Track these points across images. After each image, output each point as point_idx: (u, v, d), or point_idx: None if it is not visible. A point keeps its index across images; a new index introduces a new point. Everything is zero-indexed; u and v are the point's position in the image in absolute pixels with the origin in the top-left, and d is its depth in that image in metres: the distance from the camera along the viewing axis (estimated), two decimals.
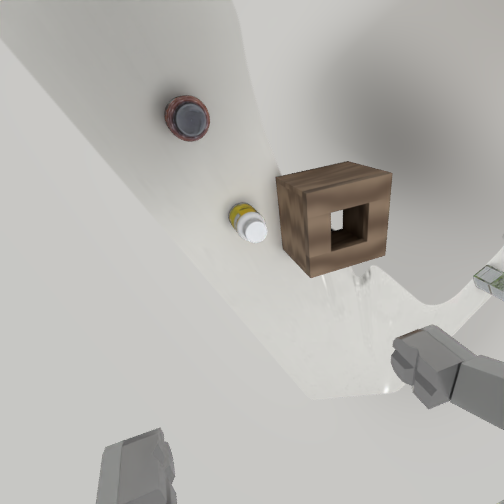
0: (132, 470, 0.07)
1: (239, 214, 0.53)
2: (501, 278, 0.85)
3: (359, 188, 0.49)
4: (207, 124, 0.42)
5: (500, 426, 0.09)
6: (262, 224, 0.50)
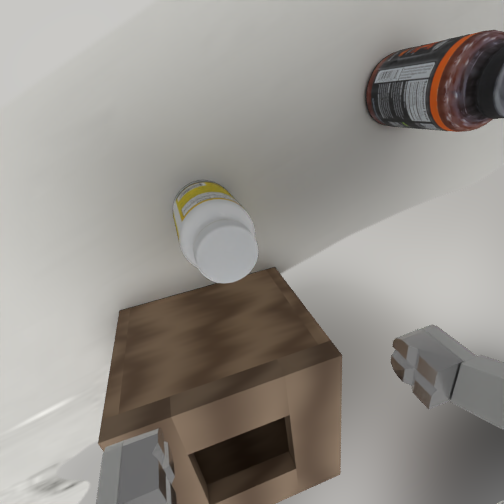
0: (132, 470, 0.07)
1: None
2: None
3: (327, 441, 0.25)
4: (467, 124, 0.20)
5: (500, 426, 0.09)
6: (249, 267, 0.19)
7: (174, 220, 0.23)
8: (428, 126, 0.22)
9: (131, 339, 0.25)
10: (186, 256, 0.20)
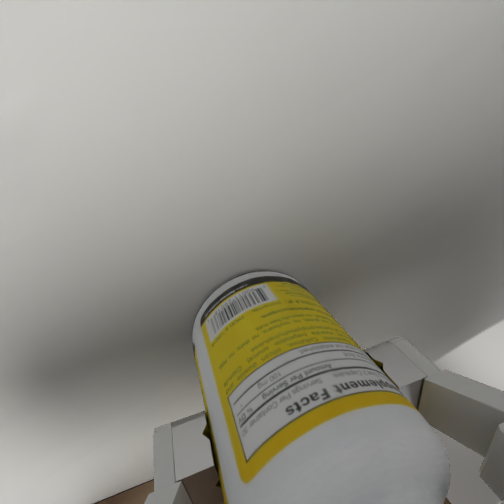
0: (185, 449, 0.08)
1: None
2: None
3: None
4: None
5: (465, 443, 0.08)
6: None
7: (200, 383, 0.10)
8: None
9: None
10: None
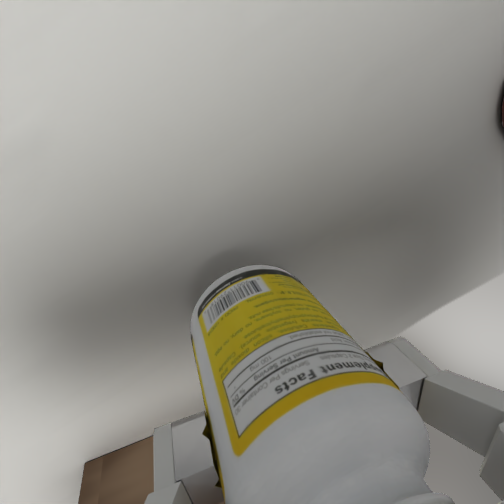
0: (185, 449, 0.08)
1: (367, 355, 0.09)
2: None
3: None
4: None
5: (465, 443, 0.08)
6: None
7: (198, 371, 0.10)
8: None
9: None
10: None
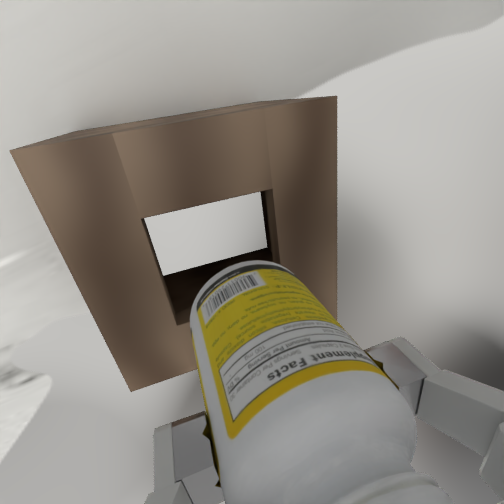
0: (185, 449, 0.08)
1: (359, 346, 0.09)
2: None
3: (320, 256, 0.20)
4: None
5: (465, 443, 0.08)
6: None
7: None
8: None
9: (81, 132, 0.20)
10: None
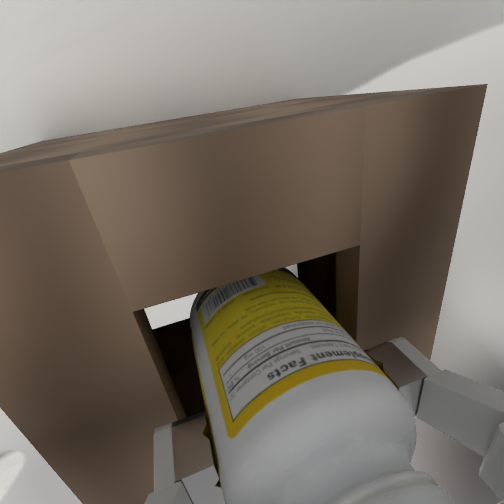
0: (185, 449, 0.08)
1: (358, 345, 0.09)
2: None
3: (413, 335, 0.13)
4: None
5: (465, 443, 0.08)
6: None
7: (196, 362, 0.11)
8: None
9: (42, 145, 0.13)
10: None
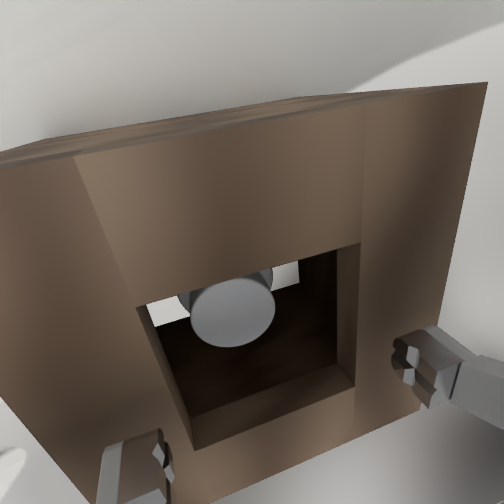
0: (132, 470, 0.07)
1: None
2: None
3: None
4: None
5: (500, 426, 0.09)
6: (262, 328, 0.14)
7: None
8: None
9: (45, 143, 0.13)
10: (183, 305, 0.16)
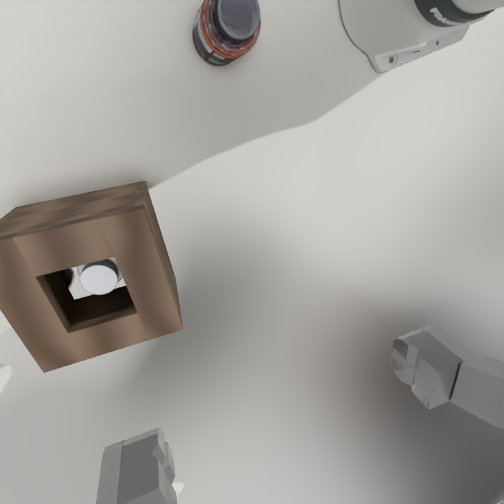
0: (132, 470, 0.07)
1: None
2: None
3: (158, 291, 0.34)
4: (227, 49, 0.29)
5: (500, 426, 0.09)
6: (113, 286, 0.35)
7: None
8: (217, 55, 0.31)
9: (13, 216, 0.33)
10: None
